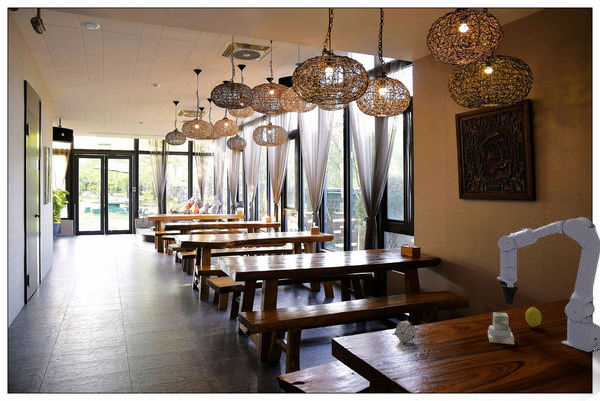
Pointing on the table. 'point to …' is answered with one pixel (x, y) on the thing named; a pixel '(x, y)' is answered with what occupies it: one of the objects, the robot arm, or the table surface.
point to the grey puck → (499, 332)
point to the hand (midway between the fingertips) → (508, 301)
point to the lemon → (533, 317)
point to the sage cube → (500, 321)
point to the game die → (405, 331)
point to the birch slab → (501, 339)
